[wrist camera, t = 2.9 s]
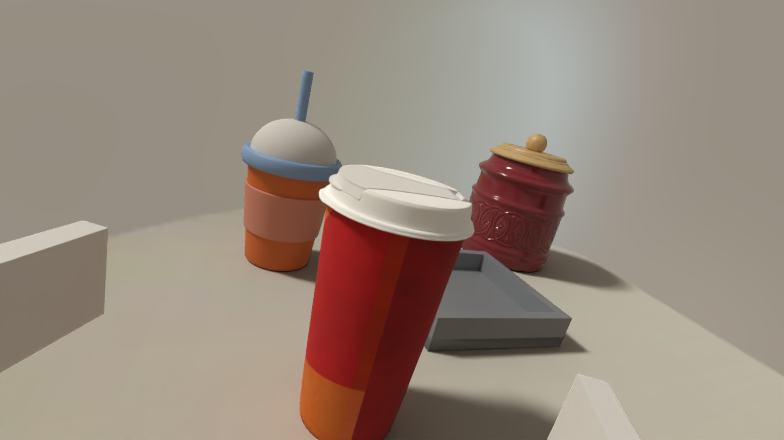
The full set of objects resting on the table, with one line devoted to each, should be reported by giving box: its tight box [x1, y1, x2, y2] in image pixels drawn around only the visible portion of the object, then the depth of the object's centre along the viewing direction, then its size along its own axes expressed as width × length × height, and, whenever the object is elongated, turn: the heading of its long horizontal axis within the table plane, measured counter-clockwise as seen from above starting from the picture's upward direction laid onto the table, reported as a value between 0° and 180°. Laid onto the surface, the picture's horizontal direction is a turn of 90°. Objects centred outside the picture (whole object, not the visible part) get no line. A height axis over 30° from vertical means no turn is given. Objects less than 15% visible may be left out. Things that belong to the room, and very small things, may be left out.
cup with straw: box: [241, 70, 342, 271], centre depth 37 cm, size 9×9×18 cm
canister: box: [462, 134, 574, 272], centre depth 56 cm, size 13×13×18 cm
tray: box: [424, 249, 572, 351], centre depth 40 cm, size 14×14×3 cm
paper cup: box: [300, 165, 474, 440], centre depth 22 cm, size 8×8×14 cm
